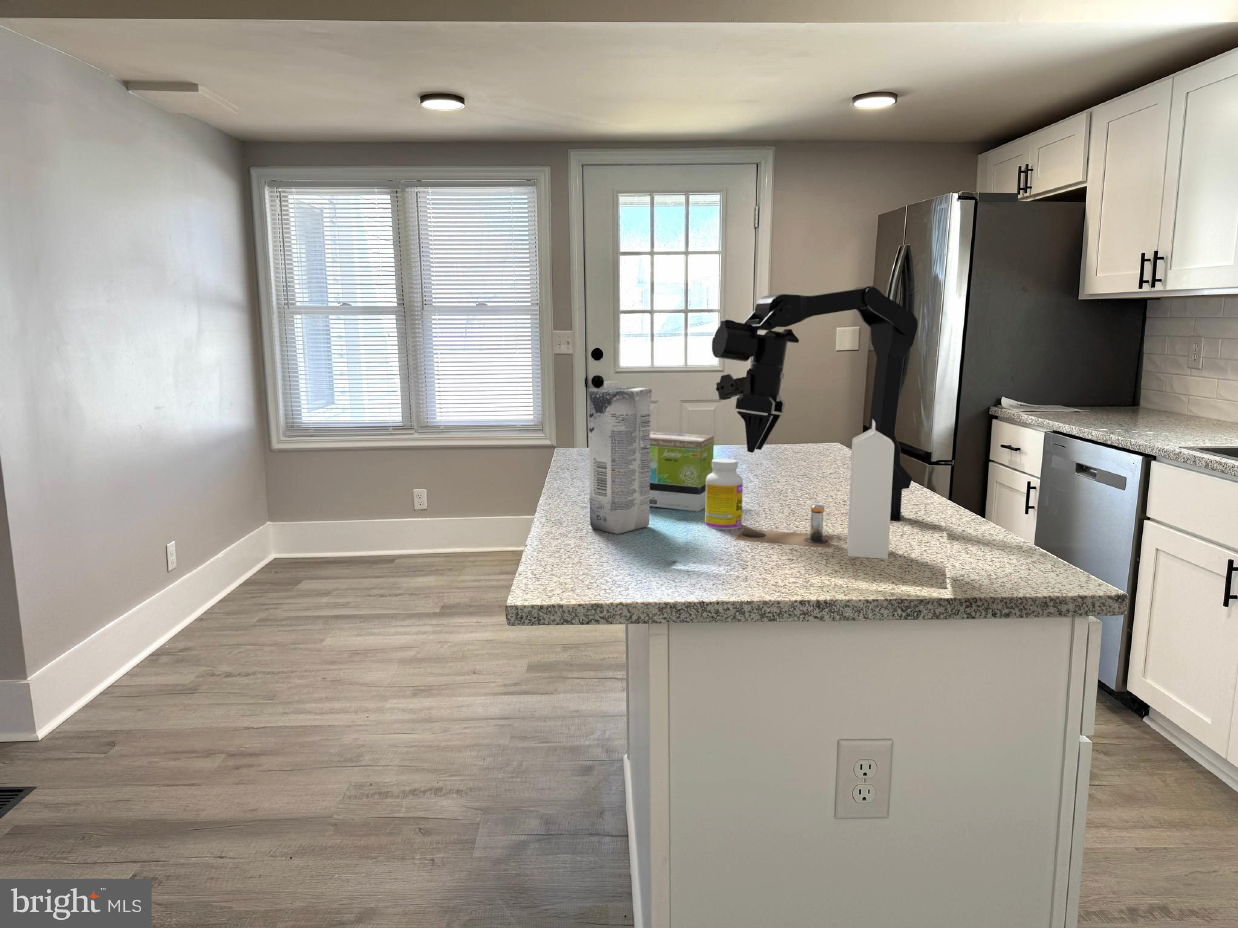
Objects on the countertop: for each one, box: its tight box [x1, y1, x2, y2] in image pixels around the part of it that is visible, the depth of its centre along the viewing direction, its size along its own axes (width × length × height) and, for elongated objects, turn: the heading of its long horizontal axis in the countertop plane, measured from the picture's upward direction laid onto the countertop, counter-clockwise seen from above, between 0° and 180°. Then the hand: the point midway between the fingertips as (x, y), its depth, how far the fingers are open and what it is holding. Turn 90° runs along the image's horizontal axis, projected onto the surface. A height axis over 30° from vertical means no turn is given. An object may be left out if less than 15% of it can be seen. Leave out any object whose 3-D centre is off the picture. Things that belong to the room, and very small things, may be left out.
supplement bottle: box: [704, 458, 744, 530], centre depth 145 cm, size 7×7×13 cm
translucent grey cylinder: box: [809, 503, 825, 542], centre depth 134 cm, size 2×2×6 cm
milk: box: [846, 419, 894, 560], centre depth 126 cm, size 6×6×22 cm
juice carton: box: [587, 380, 653, 535], centre depth 146 cm, size 9×10×27 cm
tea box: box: [649, 431, 715, 513], centre depth 167 cm, size 15×10×15 cm, turn 68°
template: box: [734, 528, 835, 549], centre depth 137 cm, size 16×8×1 cm, turn 69°
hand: (754, 450), depth 146 cm, fingers open, 9 cm apart
